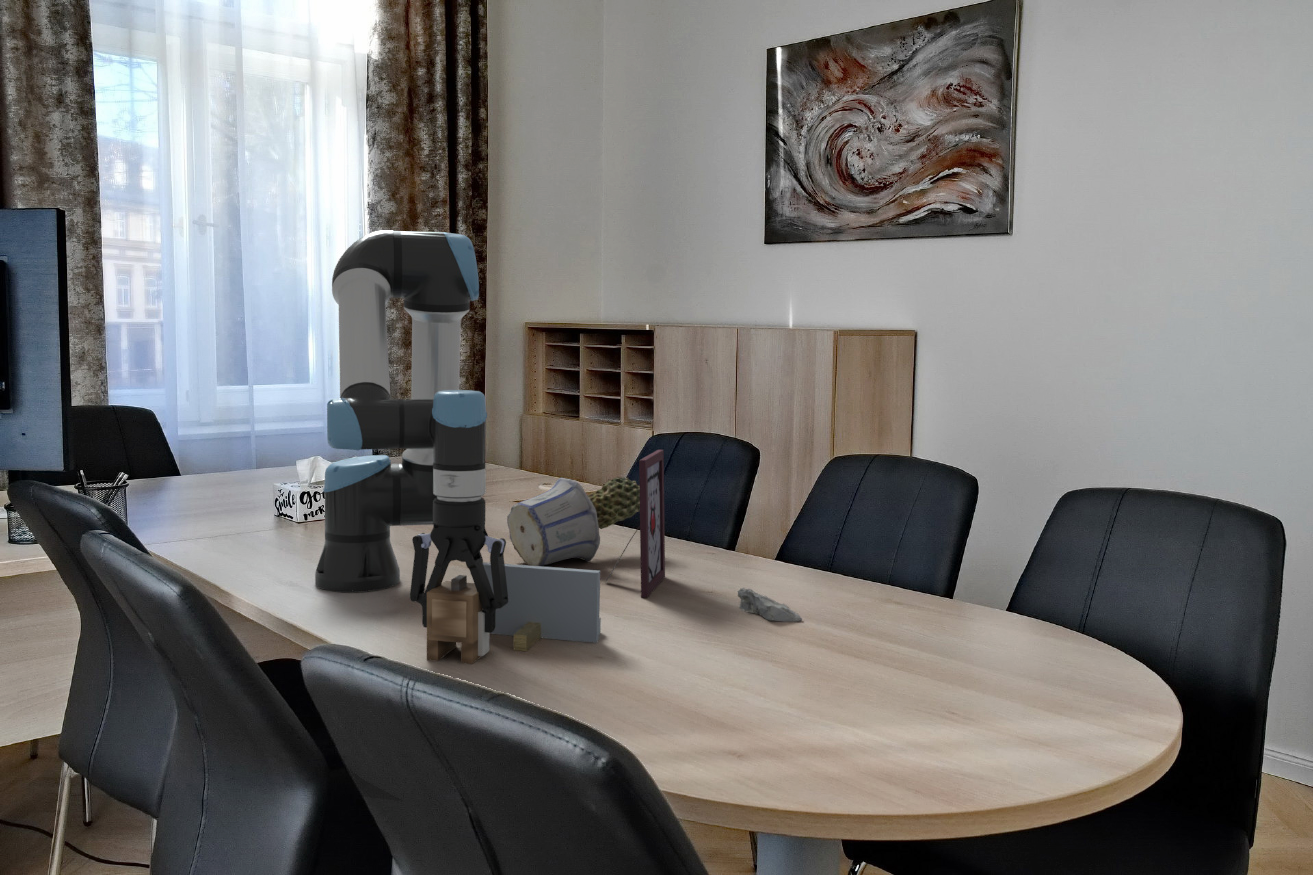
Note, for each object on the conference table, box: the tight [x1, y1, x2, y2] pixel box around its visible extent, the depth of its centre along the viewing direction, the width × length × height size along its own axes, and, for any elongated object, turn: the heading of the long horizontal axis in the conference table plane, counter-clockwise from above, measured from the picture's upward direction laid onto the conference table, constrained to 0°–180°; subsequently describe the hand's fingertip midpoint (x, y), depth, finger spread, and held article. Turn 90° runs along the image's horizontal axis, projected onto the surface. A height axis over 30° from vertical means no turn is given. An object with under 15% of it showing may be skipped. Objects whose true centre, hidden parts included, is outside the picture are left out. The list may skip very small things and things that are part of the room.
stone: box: [737, 587, 803, 623], centre depth 184 cm, size 6×12×4 cm, turn 28°
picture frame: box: [605, 449, 666, 599], centre depth 200 cm, size 17×10×25 cm, turn 168°
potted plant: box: [506, 476, 640, 567], centre depth 222 cm, size 18×18×30 cm
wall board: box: [483, 561, 602, 644], centre depth 169 cm, size 20×6×11 cm, turn 78°
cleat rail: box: [513, 622, 542, 652], centre depth 163 cm, size 2×7×2 cm, turn 168°
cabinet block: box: [426, 574, 491, 665], centre depth 157 cm, size 7×7×12 cm
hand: (458, 650), depth 158 cm, fingers closed on cabinet block, 7 cm apart
